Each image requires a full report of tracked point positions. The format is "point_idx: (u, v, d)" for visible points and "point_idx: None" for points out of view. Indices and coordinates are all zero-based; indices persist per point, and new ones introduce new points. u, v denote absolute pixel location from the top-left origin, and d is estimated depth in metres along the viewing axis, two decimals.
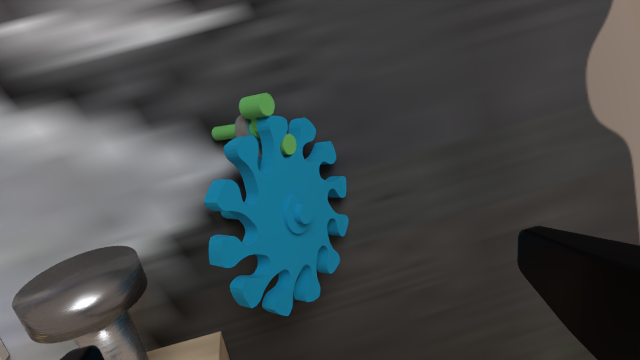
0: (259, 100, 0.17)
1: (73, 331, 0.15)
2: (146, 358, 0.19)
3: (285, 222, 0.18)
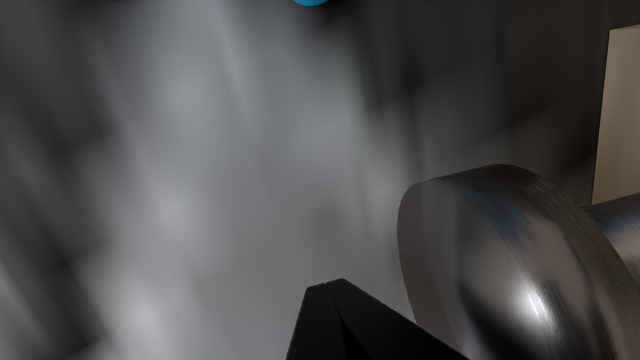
0: None
1: None
2: None
3: None
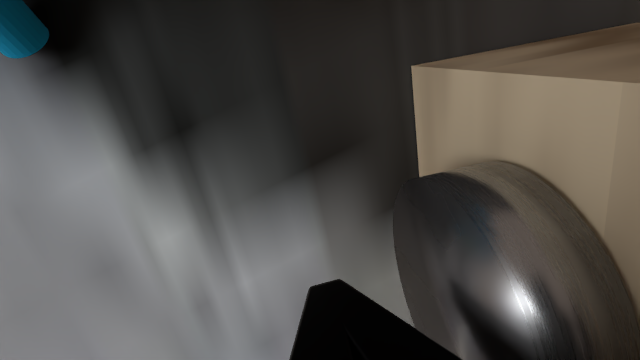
0: None
1: None
2: None
3: None
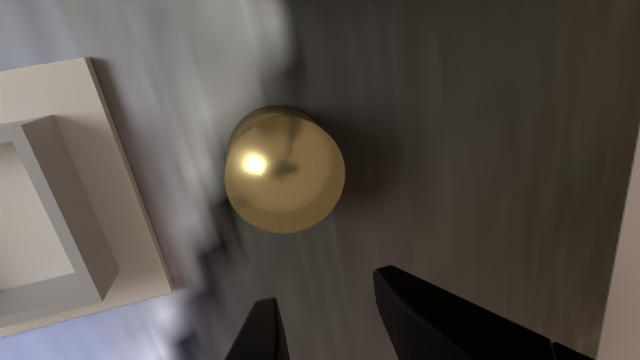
0: None
1: None
2: None
3: None
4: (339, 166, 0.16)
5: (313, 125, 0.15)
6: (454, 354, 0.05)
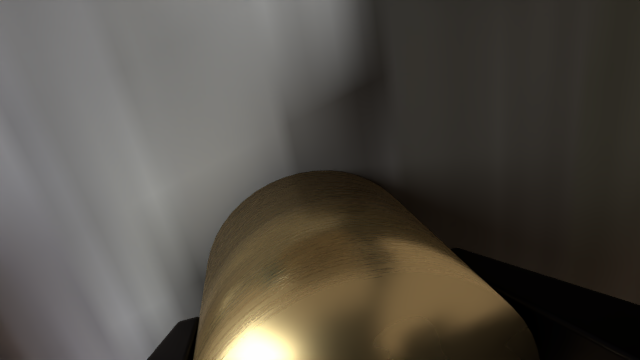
0: None
1: None
2: None
3: None
4: None
5: (473, 286, 0.05)
6: (552, 324, 0.05)
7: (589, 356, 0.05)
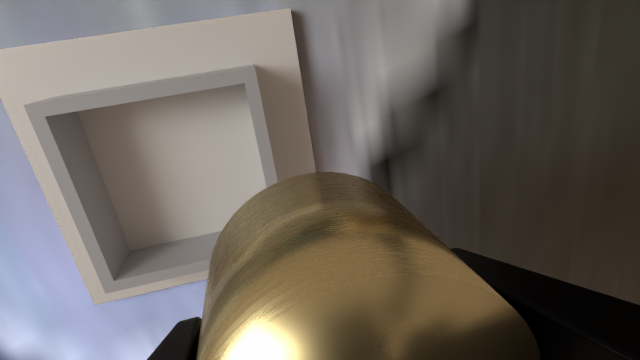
0: None
1: None
2: None
3: None
4: None
5: (476, 288, 0.05)
6: (552, 323, 0.05)
7: (589, 355, 0.05)
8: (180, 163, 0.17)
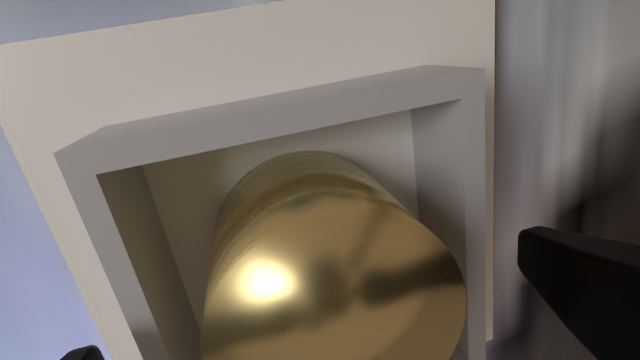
0: None
1: None
2: None
3: None
4: (456, 303, 0.07)
5: (409, 222, 0.06)
6: None
7: None
8: None
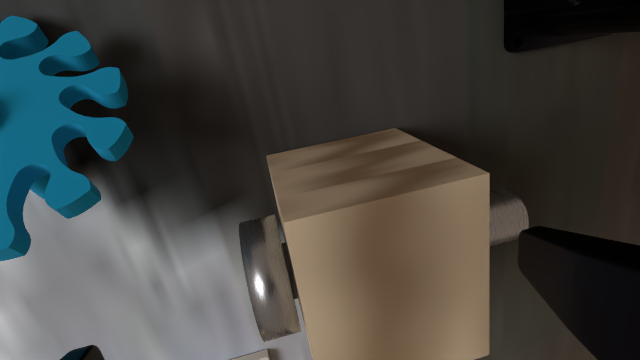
0: None
1: (284, 303, 0.13)
2: None
3: None
4: None
5: None
6: None
7: None
8: None
